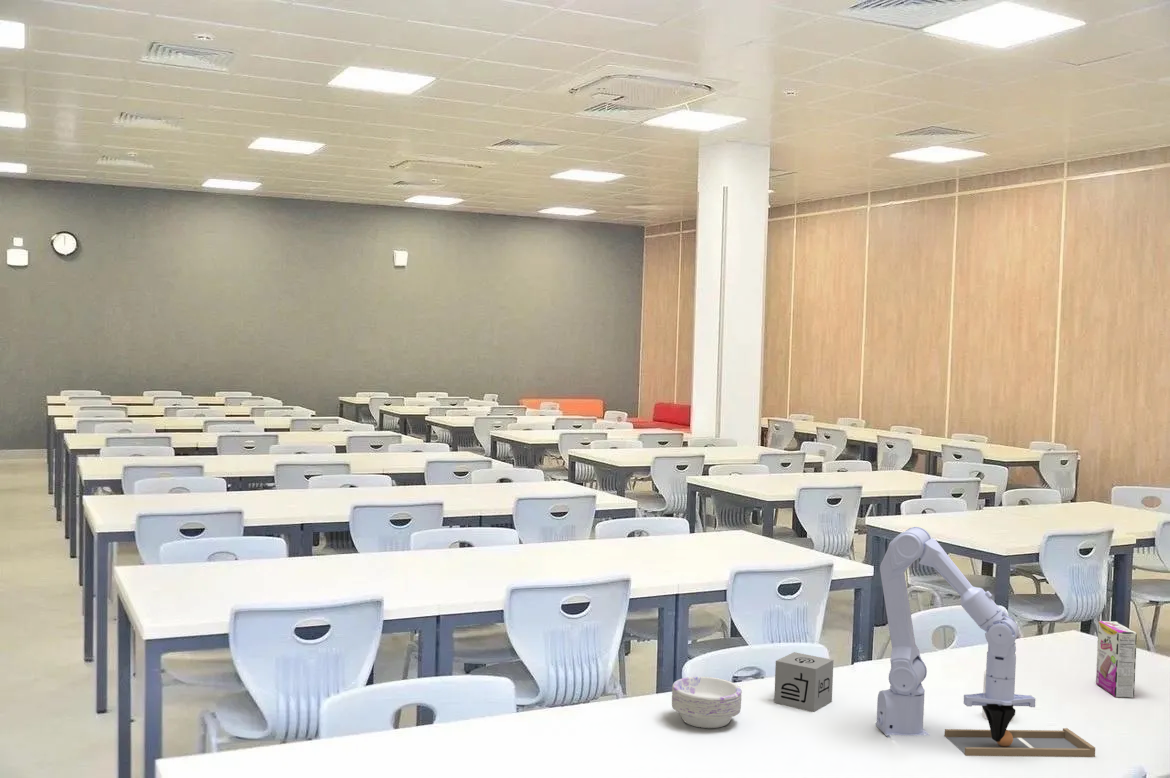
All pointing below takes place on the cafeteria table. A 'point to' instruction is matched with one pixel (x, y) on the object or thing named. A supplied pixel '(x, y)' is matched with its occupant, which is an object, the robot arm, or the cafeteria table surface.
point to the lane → (1021, 743)
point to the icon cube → (803, 681)
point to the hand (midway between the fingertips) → (997, 739)
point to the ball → (1006, 739)
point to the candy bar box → (1116, 659)
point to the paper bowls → (706, 701)
